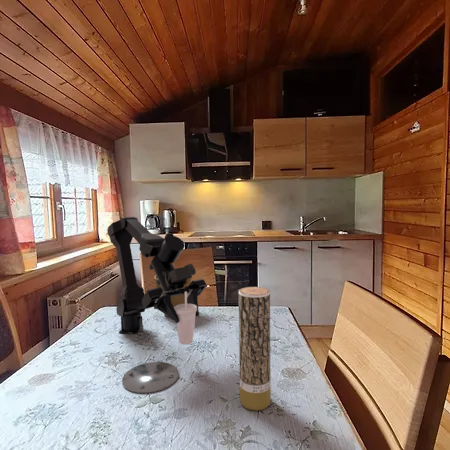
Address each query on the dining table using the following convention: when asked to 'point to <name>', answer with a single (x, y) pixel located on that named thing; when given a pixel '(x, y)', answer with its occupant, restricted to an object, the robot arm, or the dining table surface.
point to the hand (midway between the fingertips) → (188, 319)
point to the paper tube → (254, 347)
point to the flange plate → (150, 377)
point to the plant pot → (175, 299)
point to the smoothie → (185, 321)
